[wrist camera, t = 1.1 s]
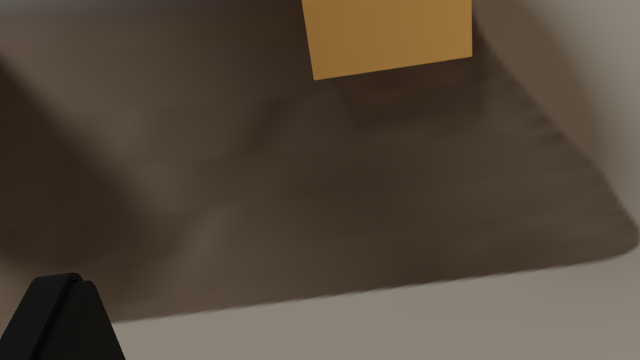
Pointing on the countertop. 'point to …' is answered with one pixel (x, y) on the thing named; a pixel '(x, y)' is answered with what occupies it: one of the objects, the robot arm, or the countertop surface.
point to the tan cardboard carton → (384, 34)
